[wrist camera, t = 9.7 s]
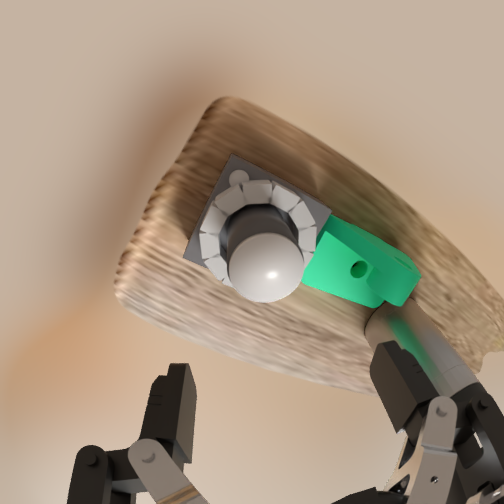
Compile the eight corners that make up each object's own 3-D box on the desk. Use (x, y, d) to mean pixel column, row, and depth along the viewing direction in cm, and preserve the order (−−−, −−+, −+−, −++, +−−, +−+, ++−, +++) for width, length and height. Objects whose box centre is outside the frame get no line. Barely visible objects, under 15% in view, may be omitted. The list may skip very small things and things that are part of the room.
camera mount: (291, 269, 31) (316, 328, 21) (324, 209, 28) (367, 249, 19) (369, 298, 34) (405, 350, 24) (400, 249, 31) (448, 292, 21)
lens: (285, 201, 23) (309, 232, 16) (283, 254, 25) (302, 302, 18) (226, 202, 23) (224, 234, 16) (228, 256, 25) (228, 305, 18)
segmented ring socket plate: (319, 199, 27) (340, 217, 22) (272, 277, 31) (280, 309, 25) (231, 153, 25) (231, 158, 19) (188, 240, 28) (179, 267, 23)
